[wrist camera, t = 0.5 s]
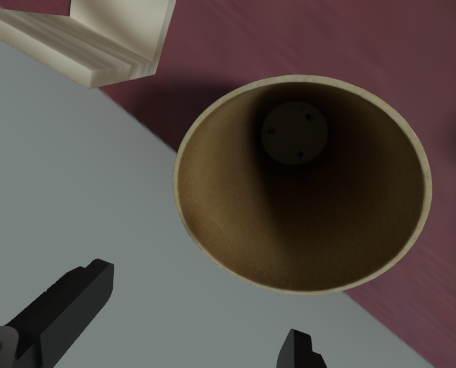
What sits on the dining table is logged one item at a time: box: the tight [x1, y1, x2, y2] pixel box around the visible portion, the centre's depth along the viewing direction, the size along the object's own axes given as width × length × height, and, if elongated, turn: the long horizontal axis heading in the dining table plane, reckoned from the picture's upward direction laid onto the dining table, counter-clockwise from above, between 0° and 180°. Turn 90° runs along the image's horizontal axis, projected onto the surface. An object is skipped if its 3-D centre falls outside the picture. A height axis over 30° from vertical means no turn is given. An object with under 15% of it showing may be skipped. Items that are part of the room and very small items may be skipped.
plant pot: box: [173, 75, 432, 295], centre depth 23 cm, size 15×15×16 cm
